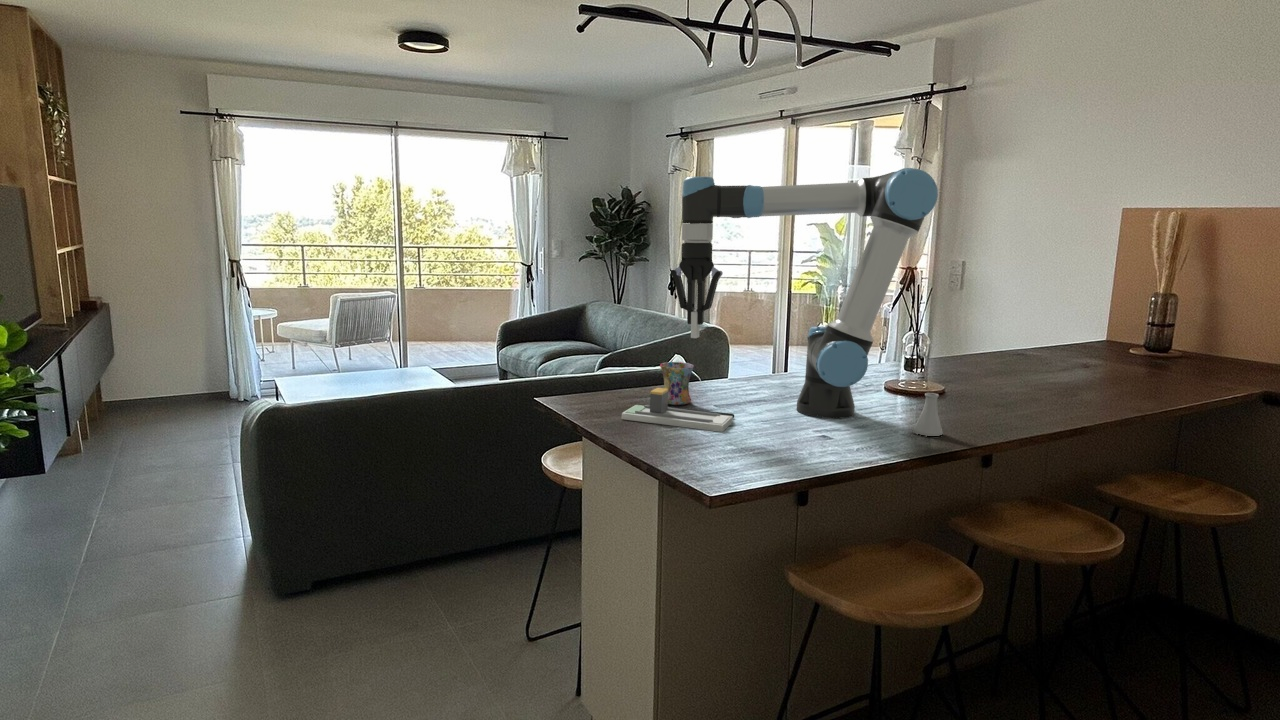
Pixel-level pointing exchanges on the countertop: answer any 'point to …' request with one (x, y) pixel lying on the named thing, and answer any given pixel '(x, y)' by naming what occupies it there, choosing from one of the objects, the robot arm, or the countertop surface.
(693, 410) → the cable
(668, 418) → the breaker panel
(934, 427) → the flask
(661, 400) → the block
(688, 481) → the countertop surface
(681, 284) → the robot arm
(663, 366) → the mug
